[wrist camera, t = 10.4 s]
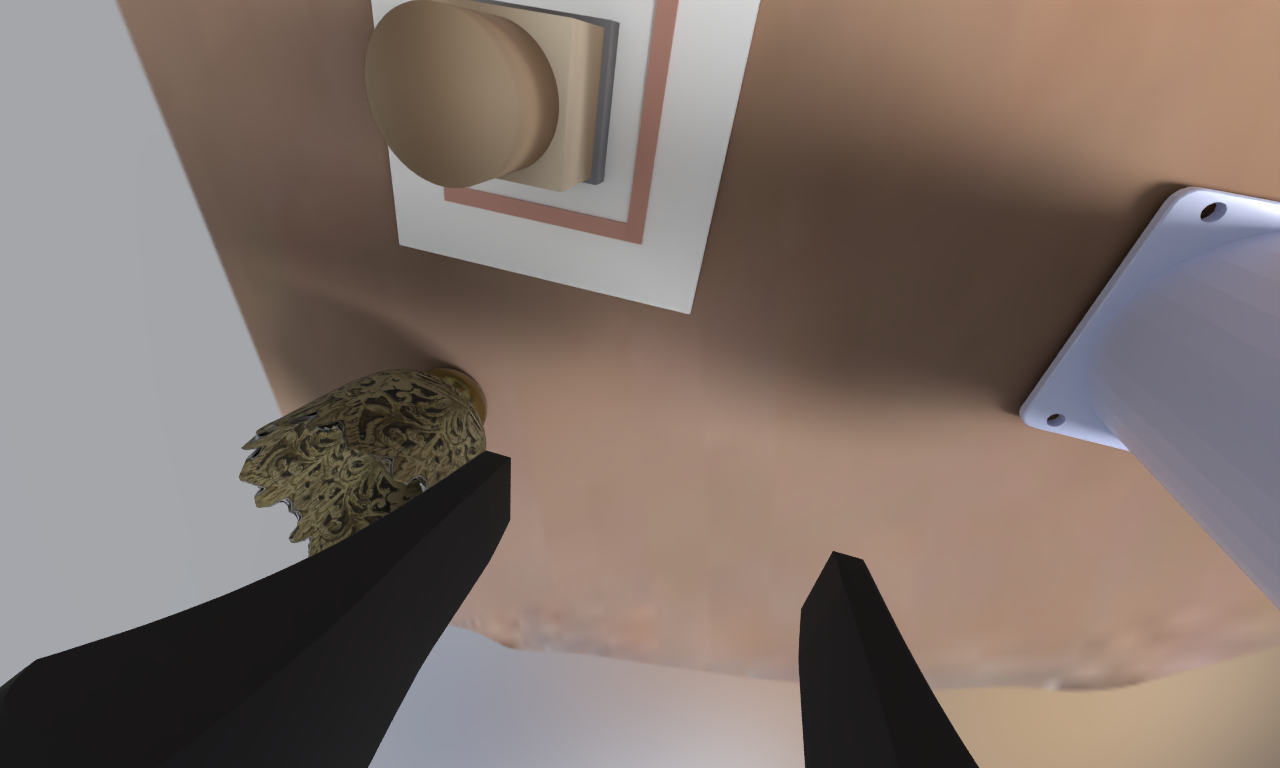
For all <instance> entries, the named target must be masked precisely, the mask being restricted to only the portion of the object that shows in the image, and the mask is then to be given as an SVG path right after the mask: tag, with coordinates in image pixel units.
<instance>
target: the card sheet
mask: <svg viewBox="0 0 1280 768" xmlns="http://www.w3.org/2000/svg"><path fill="white" fill-rule="evenodd" d="M408 1H412V0H371V3H372V12H373V20H374V29H375V28H376V26H377V24H378V23H379V21H380V20H381V19H382V18H383V17H384V15H385V14H387V13H388V12H389V11H390V10H391V9H393V8H394V7H396V6H398V5H400V4H402V3H405V2H408ZM495 1H501V2H507V3H513V4H519V5H525V6H531V7H537V8H543V9H549V10H555V11H561V12H567V13H573V14H578V15H584V16H590V17H596V18H602V19H608V20H613V21H616V22H619V23H620V26H619V36H618V45H617V55H616V65H615V75H614V85H613V95H612V104H611V114H610V124H609V134H608V144H607V154H606V163H605V173H604V181H603V182H602V183H600V184H598V185H592V184H587V183H583V182H582V183H580V184H578V185H576V186H574V187H572V188H570V189H568V190H566V191H564V192H557V191H552V190H548V189H543V188H538V187H534V186H529V185H524V184H520V183H515V182H511V181H506V180H501V179H497V178H495V179H492V180H489V181H486V182H483V183H480V184H477V185H474V186H471V187H465V188H448V187H442V186H439V185H436V184H433V183H431V182H429V181H426V180H425V179H423V178H421V177H419V176H418V175H416V174H415V173H414V172H412V171H411V170H410V169H408V168H407V167H406V166H405V165H404V164H403V163H402V162H401V161H400V160H399V159H398V158H397V156H396V155H395V154H394V153H393V152H392V150H391V149H390V148H389V146H388V150H389V158H390V167H391V175H392V184H393V193H394V201H395V210H396V219H397V227H398V236H399V245H403V246H407V247H411V248H415V249H419V250H423V251H428V252H432V253H436V254H440V255H444V256H448V257H452V258H457V259H461V260H465V261H469V262H473V263H477V264H482V265H486V266H490V267H494V268H498V269H502V270H507V271H511V272H515V273H519V274H523V275H527V276H531V277H536V278H540V279H544V280H548V281H552V282H556V283H561V284H565V285H569V286H573V287H577V288H581V289H586V290H590V291H594V292H598V293H602V294H606V295H610V296H615V297H619V298H623V299H627V300H631V301H635V302H640V303H644V304H648V305H652V306H656V307H660V308H665V309H669V310H673V311H677V312H681V313H685V314H689V315H690V313H691V309H692V305H693V300H694V296H695V292H696V287H697V283H698V278H699V274H700V269H701V265H702V260H703V256H704V251H705V247H706V242H707V238H708V233H709V229H710V224H711V220H712V215H713V211H714V206H715V202H716V198H717V193H718V189H719V184H720V180H721V175H722V171H723V166H724V162H725V157H726V153H727V148H728V144H729V139H730V135H731V130H732V126H733V121H734V117H735V112H736V108H737V104H738V99H739V95H740V90H741V86H742V81H743V77H744V72H745V68H746V63H747V59H748V54H749V50H750V45H751V41H752V36H753V32H754V27H755V23H756V18H757V14H758V10H759V5H760V1H761V0H495Z"/></svg>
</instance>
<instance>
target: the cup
mask: <svg viewBox="0 0 1280 768" xmlns="http://www.w3.org/2000/svg"><path fill="white" fill-rule="evenodd" d="M486 415H487V402H486V398H485V395H484V393H483V392H482V390H481V388H480V387H479V386H478V384H477V383H476V382H475V381H474V380H473V379H471V378H470V377H469V376H467V375H466V374H464V373H462V372H460V371H458V370H455V369H450V368H437V369H431V370H428V371H425V372H422V371H417V370H407V369H395V370H387V371H381V372H378V373H374V374H371V375H368V376H365V377H362V378H360V379H357V380H355V381H353V382H351V383H348V384H346V385H344V386H342V387H340V388H338V389H336V390H334V391H332V392H330V393H328V394H326V395H324V396H322V397H320V398H318V399H316V400H314V401H312V402H310V403H308V404H307V405H305V406H303V407H301V408H299V409H297V410H295V411H293V412H291V413H289V414H287V415H286V416H284V417H282V418H280V419H278V420H276V421H273V422H271V423H269V424H267V425H266V426H264V427H262V428H260V429H259V430H257V432H256V434H257V435H256V436H255V437H254V438H252V439H251V440H250V441H249V442H248V443H246V444H245V445H244V446H243V447H242V449H244V450H250V449H255V451H254V452H253V453H252V454H251V455H250V456H248V457H247V459H246V461H245V464H244V466H243V469H242V471H241V473H240V475H239V478H240V480H241V481H242V482H244V483H248V484H252V485H255V486H257V487H258V488H260V490H259V491H258V492H257V493H256V495H255V503H256V506H257V507H258V508H262V507H271V506H273V505H275V504H276V503H279V502H284V503H286V502H285V501H282V500H284V499H285V500H286V501H287V502H288V503H289V505H288V504H287V503H286V504H287V506H288V511H289V512H290V513H292V514H294V515H295V516H296V517H297V515H298V516H299V520H298V522H297V527H296V528H295V529H294V531H293V532H292V533H291V535H290V537H289V540H290V542H292V543H298V542H301V541H305V540H306V539H308V538H309V541H310V543H309V544H308V549H309V551H308V553H309V556H308V557H310V556H312V555H314V554H316V553H318V552H320V551H322V550H324V549H326V548H328V547H330V546H332V545H334V544H336V543H338V542H340V541H341V540H343V539H345V538H347V537H349V536H351V535H352V534H354V533H356V532H358V531H359V530H361V529H363V528H365V527H366V526H368V525H370V524H371V523H373V522H375V521H377V520H378V519H380V518H382V517H384V516H385V515H387V514H389V513H390V512H392V511H394V510H395V509H397V508H399V507H400V506H402V505H403V504H405V503H406V502H408V501H410V500H411V499H413V498H414V497H416V496H417V495H419V494H421V493H422V492H424V491H425V490H427V489H428V488H430V487H431V486H433V485H434V484H436V483H437V482H439V481H440V480H442V479H444V478H445V477H447V476H448V475H449V474H451V473H452V472H454V471H455V470H457V469H458V468H460V467H461V466H463V465H464V464H466V463H467V462H469V461H470V460H472V459H473V458H475V457H476V456H478V455H479V454H481V453H482V452H484V451H486V437H485V431H484V427H483V425H484V423H485V420H486ZM296 513H297V515H296ZM297 519H298V518H297Z"/></svg>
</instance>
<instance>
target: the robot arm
mask: <svg viewBox="0 0 1280 768" xmlns="http://www.w3.org/2000/svg"><path fill="white" fill-rule="evenodd" d="M1214 202H1215V203H1216V208H1215V210H1214V212H1213V213H1212V214H1210V215H1209V216H1208V217H1205V218H1203V219H1201V217H1200V215H1201V212H1202V210H1203V209H1204V208H1205V207H1207V206H1208V205H1210V204H1212V203H1214ZM1054 414H1059V416H1058V417H1057V418H1056V419H1053V420H1047V418H1048V417H1050V416H1051V415H1054ZM1019 415H1020V417H1021V419H1022V420H1023V422H1024V423H1025V424H1026V425H1028V426H1030V427H1033V428H1037V429H1041V430H1045V431H1049V432H1054V433H1058V434H1062V435H1066V436H1070V437H1074V438H1078V439H1082V440H1086V441H1090V442H1094V443H1098V444H1102V445H1106V446H1110V447H1114V448H1118V449H1122V450H1126V451H1130V452H1131V453H1132V454H1133V455H1134V456H1135V457H1136V458H1137V459H1138V460H1139V461H1140V462H1141V463H1142V464H1143V466H1144V467H1145V468H1146V469H1147V470H1148V471H1149V472H1150V473H1151V474H1152V475H1153V476H1154V477H1155V478H1156V479H1157V480H1158V481H1159V483H1160V484H1161V485H1162V486H1163V487H1164V488H1165V489H1166V490H1167V491H1168V492H1169V493H1170V494H1171V495H1172V496H1173V497H1174V498H1175V500H1176V501H1177V502H1178V503H1179V504H1180V505H1181V506H1182V507H1183V508H1184V509H1185V510H1186V511H1187V512H1188V513H1189V514H1190V516H1191V517H1192V518H1193V519H1194V520H1195V521H1196V522H1197V523H1198V524H1199V525H1200V526H1201V527H1202V528H1203V529H1204V530H1205V531H1206V533H1207V534H1208V535H1209V536H1210V537H1211V538H1212V539H1213V540H1214V541H1215V542H1216V543H1217V544H1218V545H1219V546H1220V547H1221V548H1222V550H1223V551H1224V552H1225V553H1226V554H1227V555H1228V556H1229V557H1230V558H1231V559H1232V560H1233V561H1234V562H1235V563H1236V564H1237V565H1238V567H1239V568H1240V569H1241V570H1242V571H1243V572H1244V573H1245V574H1246V575H1247V576H1248V577H1249V578H1250V579H1251V580H1252V581H1253V582H1254V584H1255V585H1256V586H1257V587H1258V588H1259V589H1260V590H1261V591H1262V592H1263V593H1264V594H1265V595H1266V596H1267V597H1268V598H1269V600H1270V601H1271V602H1272V603H1273V604H1274V605H1275V606H1276V607H1277V608H1278V609H1279V610H1280V202H1278V201H1273V200H1267V199H1262V198H1256V197H1251V196H1245V195H1240V194H1235V193H1229V192H1224V191H1218V190H1213V189H1208V188H1202V187H1187V188H1183V189H1180V190H1178V191H1177V192H1175V193H1173V194H1172V195H1170V196H1169V197H1168V199H1167V200H1166V201H1165V202H1164V203H1163V204H1162V206H1161V207H1160V209H1159V210H1158V212H1157V213H1156V214H1155V216H1154V217H1153V219H1152V220H1151V222H1150V223H1149V224H1148V226H1147V227H1146V229H1145V230H1144V232H1143V233H1142V235H1141V236H1140V237H1139V239H1138V240H1137V242H1136V243H1135V245H1134V246H1133V247H1132V249H1131V250H1130V252H1129V253H1128V255H1127V256H1126V257H1125V259H1124V260H1123V262H1122V263H1121V265H1120V266H1119V267H1118V269H1117V270H1116V272H1115V273H1114V275H1113V276H1112V278H1111V279H1110V280H1109V282H1108V283H1107V285H1106V286H1105V288H1104V289H1103V290H1102V292H1101V293H1100V295H1099V296H1098V298H1097V299H1096V300H1095V302H1094V303H1093V305H1092V306H1091V308H1090V309H1089V310H1088V312H1087V313H1086V315H1085V316H1084V318H1083V319H1082V321H1081V322H1080V323H1079V325H1078V326H1077V328H1076V329H1075V331H1074V332H1073V333H1072V335H1071V336H1070V338H1069V339H1068V341H1067V342H1066V343H1065V345H1064V346H1063V348H1062V349H1061V351H1060V352H1059V353H1058V355H1057V356H1056V358H1055V359H1054V361H1053V362H1052V363H1051V365H1050V366H1049V368H1048V369H1047V371H1046V372H1045V374H1044V375H1043V376H1042V378H1041V379H1040V381H1039V382H1038V384H1037V385H1036V386H1035V388H1034V389H1033V391H1032V392H1031V394H1030V395H1029V396H1028V398H1027V399H1026V401H1025V402H1024V404H1023V405H1022V406H1021V408H1020V411H1019ZM510 486H511V458H510V457H507V456H503V455H500V454H496V453H493V452H489V451H484V452H482V453H481V454H479V455H478V456H476V457H475V458H473V459H472V460H470V461H469V462H467V463H466V464H464V465H463V466H461V467H460V468H458V469H457V470H455V471H454V472H452V473H451V474H449V475H448V476H447V477H445V478H444V479H442V480H440V481H439V482H437V483H436V484H434V485H433V486H431V487H430V488H428V489H427V490H425V491H424V492H422V493H421V494H419V495H417V496H416V497H414V498H413V499H411V500H410V501H408V502H406V503H405V504H403V505H402V506H400V507H399V508H397V509H395V510H394V511H392V512H390V513H389V514H387V515H385V516H384V517H382V518H380V519H378V520H377V521H375V522H373V523H371V524H370V525H368V526H366V527H365V528H363V529H361V530H359V531H358V532H356V533H354V534H352V535H351V536H349V537H347V538H345V539H343V540H341V541H340V542H338V543H336V544H334V545H332V546H330V547H328V548H326V549H324V550H322V551H320V552H318V553H316V554H314V555H312V556H310V557H308V558H306V559H304V560H302V561H300V562H298V563H296V564H294V565H292V566H290V567H288V568H285V569H283V570H281V571H279V572H276V573H275V574H272V575H270V576H268V577H265V578H263V579H261V580H258V581H256V582H254V583H252V584H249V585H247V586H245V587H242V588H240V589H238V590H235V591H233V592H231V593H228V594H226V595H223V596H221V597H218V598H216V599H213V600H211V601H208V602H205V603H203V604H200V605H197V606H195V607H193V608H190V609H187V610H184V611H182V612H180V613H177V614H174V615H171V616H168V617H165V618H163V619H160V620H157V621H154V622H152V623H149V624H146V625H143V626H140V627H137V628H134V629H131V630H128V631H125V632H122V633H119V634H116V635H113V636H110V637H107V638H104V639H100V640H97V641H94V642H91V643H88V644H85V645H82V646H79V647H75V648H72V649H69V650H66V651H63V652H60V653H57V654H53V655H50V656H47V657H43V658H40V659H37V660H35V661H34V662H33V663H31V664H30V665H29V666H27V667H26V668H24V669H23V670H22V671H21V672H19V673H18V674H17V675H15V676H14V677H13V678H12V679H10V680H9V681H8V682H6V683H5V684H4V685H3V686H1V687H0V768H368V766H369V764H370V763H371V761H372V759H373V757H374V755H375V753H376V751H377V749H378V747H379V745H380V743H381V741H382V739H383V737H384V735H385V733H386V732H387V729H388V727H389V726H390V724H391V722H392V720H393V718H394V716H395V714H396V712H397V710H398V708H399V707H400V705H401V703H402V701H403V699H404V697H405V696H406V694H407V692H408V690H409V688H410V686H411V684H412V683H413V681H414V679H415V677H416V675H417V673H418V671H419V669H420V668H421V666H422V665H423V663H424V661H425V660H426V658H427V656H428V655H429V653H430V651H431V650H432V648H433V647H434V645H435V644H436V642H437V641H438V639H439V638H440V636H441V635H442V633H443V632H444V630H445V628H446V627H447V626H448V624H449V622H450V621H451V619H452V618H453V616H454V615H455V613H456V612H457V610H458V609H459V607H460V606H461V604H462V603H463V601H464V600H465V598H466V597H467V595H468V594H469V592H470V591H471V589H472V587H473V586H474V584H475V583H476V581H477V580H478V578H479V577H480V575H481V574H482V572H483V571H484V569H485V567H486V566H487V564H488V563H489V561H490V559H491V557H492V555H493V554H494V552H495V550H496V548H497V546H498V544H499V542H500V540H501V538H502V536H503V534H504V532H505V529H506V527H507V525H508V523H509V521H510ZM799 677H800V694H801V710H802V725H803V741H804V756H805V768H979V767H978V765H977V764H976V762H975V761H974V759H973V758H972V756H971V755H970V753H969V751H968V750H967V748H966V747H965V745H964V744H963V742H962V740H961V739H960V737H959V736H958V734H957V732H956V731H955V729H954V727H953V726H952V724H951V722H950V721H949V719H948V717H947V716H946V714H945V712H944V711H943V709H942V707H941V706H940V704H939V702H938V701H937V699H936V697H935V695H934V694H933V692H932V690H931V688H930V687H929V685H928V683H927V681H926V680H925V678H924V676H923V674H922V672H921V670H920V669H919V667H918V665H917V663H916V661H915V659H914V658H913V656H912V654H911V652H910V650H909V649H908V647H907V645H906V643H905V641H904V639H903V637H902V635H901V633H900V632H899V630H898V628H897V626H896V624H895V622H894V620H893V618H892V616H891V614H890V612H889V610H888V608H887V606H886V604H885V602H884V600H883V598H882V596H881V594H880V592H879V590H878V588H877V586H876V584H875V582H874V580H873V578H872V576H871V574H870V572H869V570H868V568H867V566H866V564H865V562H864V561H863V559H859V558H856V557H852V556H849V555H845V554H842V553H838V552H835V551H833V552H832V554H831V556H830V558H829V559H828V561H827V563H826V565H825V567H824V568H823V570H822V572H821V574H820V576H819V577H818V579H817V581H816V583H815V585H814V587H813V588H812V590H811V592H810V594H809V596H808V597H807V599H806V601H805V603H804V605H803V607H802V608H801V620H800V635H799Z"/></svg>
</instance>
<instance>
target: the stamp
mask: <svg viewBox="0 0 1280 768" xmlns="http://www.w3.org/2000/svg"><path fill="white" fill-rule="evenodd" d="M619 26H620V23H619V22H616V21H613V20H608V19H602V18H596V17H590V16H584V15H578V14H573V13H567V12H561V11H555V10H549V9H543V8H537V7H531V6H525V5H519V4H513V3H507V2H501V1H495V0H412V1H408V2H405V3H402V4H400V5H398V6H396V7H394V8H393V9H391V10H390V11H389V12H388V13H387V14H385V15H384V17H383V18H382V19H381V20H380V21H379V23H378V24H377V26H376V28H375V29H374V31H373V33H372V36H371V38H370V40H369V44H368V48H367V51H366V58H365V75H364V76H365V88H366V93H367V99H368V103H369V106H370V110H371V113H372V115H373V118H374V121H375V123H376V125H377V127H378V129H379V131H380V133H381V135H382V137H383V138H384V140H385V142H386V143H387V145H388V146H389V148H390V149H391V150H392V152H393V153H394V154H395V155H396V156H397V158H398V159H399V160H400V161H401V162H402V163H403V164H404V165H405V166H406V167H407V168H408V169H410V170H411V171H412V172H414V173H415V174H416V175H418V176H419V177H421V178H423V179H425V180H426V181H429V182H431V183H433V184H436V185H439V186H442V187H448V188H465V187H471V186H474V185H477V184H480V183H483V182H486V181H489V180H492V179H495V178H497V179H501V180H506V181H511V182H515V183H520V184H524V185H529V186H534V187H538V188H543V189H548V190H552V191H557V192H564V191H566V190H568V189H570V188H572V187H574V186H576V185H578V184H580V183H582V182H583V183H587V184H592V185H598V184H600V183H602V182H603V181H604V173H605V163H606V154H607V144H608V134H609V124H610V114H611V104H612V95H613V85H614V75H615V65H616V55H617V45H618V36H619Z"/></svg>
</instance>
